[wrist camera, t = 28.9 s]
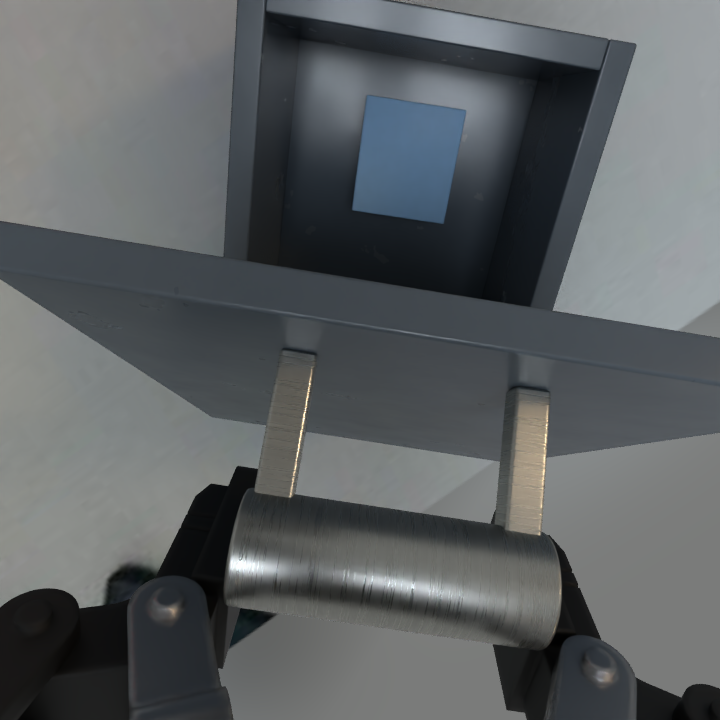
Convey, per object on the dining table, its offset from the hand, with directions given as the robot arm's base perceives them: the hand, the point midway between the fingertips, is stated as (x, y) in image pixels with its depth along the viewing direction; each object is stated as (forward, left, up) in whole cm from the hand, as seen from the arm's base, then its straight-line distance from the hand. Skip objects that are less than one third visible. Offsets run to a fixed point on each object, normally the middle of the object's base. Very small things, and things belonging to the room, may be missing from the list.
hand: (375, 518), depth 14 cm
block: (-7, 0, -21) cm, 22 cm away
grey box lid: (-1, 0, -5) cm, 5 cm away
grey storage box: (-4, 0, -22) cm, 22 cm away
